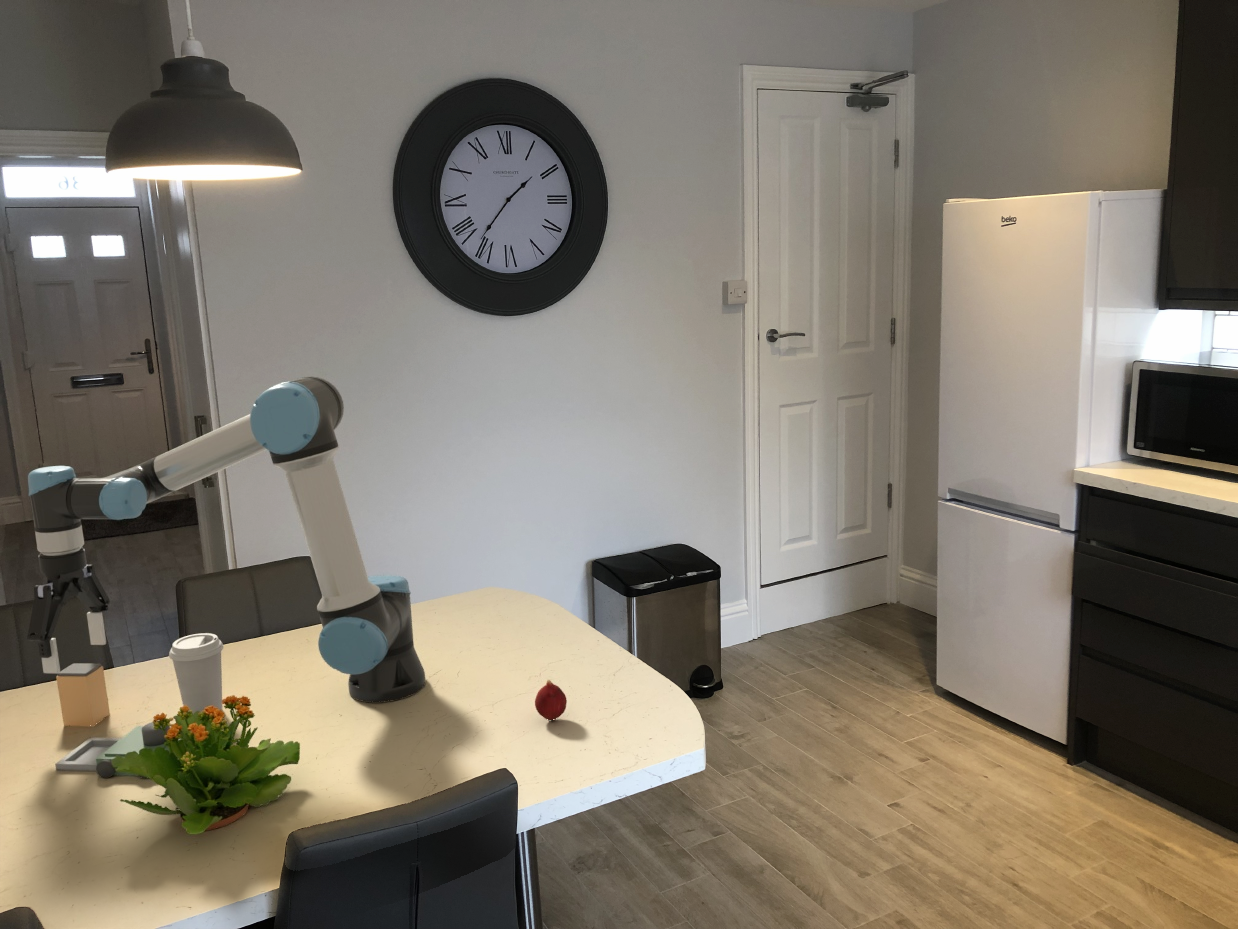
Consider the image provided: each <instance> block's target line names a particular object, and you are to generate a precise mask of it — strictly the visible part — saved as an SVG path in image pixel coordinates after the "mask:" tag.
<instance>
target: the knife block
mask: <svg viewBox="0 0 1238 929" xmlns="http://www.w3.org/2000/svg"><path fill="white" fill-rule="evenodd" d="M55 678H56V684H57V690H58V696H59V702H60V708H61V709H60V710H61V714H62V715H61V716H62V723H63V727H95V726H97V724H96V723H98V722H99V721H100V722H102V721H103V720H104V719H105V718H104V717H106V716H107V715H108V716H109V714H110V715H111V713H110V705H109V699H108V692H107V686H106V684H107V683H106V678H105V673H104V666H103V665H102V664H101V663H87V662H85V663H81V662H80V663H77V662H76V663H75V662H74V663H72V664H70V665H68V666H67V667H65V668H64V669H62V670H60V672H59V673H57V675H56V677H55ZM108 716H107V717H108ZM107 717H106V718H107ZM103 718H104V719H103ZM102 719H103V720H102ZM101 720H102V721H101ZM100 722H99V723H100ZM99 723H98V724H99ZM69 725H70V726H69ZM90 725H91V726H90ZM94 725H95V726H94Z"/></svg>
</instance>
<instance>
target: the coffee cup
mask: <svg viewBox="0 0 1238 929" xmlns="http://www.w3.org/2000/svg"><path fill="white" fill-rule="evenodd" d="M171 645H172V647H171V648H170V650H169V652H168V653H169V654H168V658H170V659H171V660H172V664H173V668H174V672H175V676H176V679H177V680H176V681H177V684H178V688H179V693H180V698H181V701H182V707H184V705H187V706H188V707H189V708H190V709H189V711H190V710H192V713H193V714H194V712H196V711H200V712H202V711H203V710H205V709H204V708H206V707H208V706H214V707H215V708H216V707H218V709H219V710H222V711H223V704H222V700H223V680H222V679H223V678H222V677H223V676H222V675H223V674H222V672H223V671H222V651H223V649H224V644H223V642H222V641H221V639H219V637H218V635H216V634H214V633H211V632H210V633H209V632H205V633H201V632H200V633H195V634H190V635H187V636H186V635H185V636H183V637H180V638H178V639H176V640H175V641H174V642H172V644H171ZM189 711H188V712H189Z"/></svg>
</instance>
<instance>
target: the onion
mask: <svg viewBox="0 0 1238 929" xmlns="http://www.w3.org/2000/svg"><path fill="white" fill-rule="evenodd" d="M567 702H568V701H567V695H566V694H565V693H564V691H563V690H562V689H561V688H560V686H558V685H557V684H554V683H553V682H552V681H551V679H547V680H546V684H545V685H544V686H542V687H541V688H540V689H539V690H538V692H537V693H536V696H535V699H534V706H535V710H536V711H537V713H538V715H540V716H541V717H542V718H544V720H545V719H546V720H547V719H548V720H547V721H549V720H553V719H555V720H556V718H557V719H559V718H560V717H561V716H562V715H563V714H564V713H565V711H566V709H567Z"/></svg>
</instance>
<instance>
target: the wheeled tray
mask: <svg viewBox="0 0 1238 929" xmlns="http://www.w3.org/2000/svg"><path fill="white" fill-rule="evenodd" d="M153 727H154V724H153V721H151V722H149V723H146V724H145V725H136V726H134V728H132V730H130V731H129V732H127V733H126V734H125V735H124V736H122V737H89V738H88V739H86V740H85V741H83V743H81V744H80V745H79V746H77V747H75V748H74V749H73V750H72V751H71V752H69V753H68V754H66V755H65V756H64V757H63V758H61V759H59V760H58V761H57V762H55V770H56V771H68V772H69V771H70V772H71V771H72V772H74V771H77V772H83V771H84V772H96V773H97V775H98V776H99V777H101V778H103V779H108V778H110V777H113V776H129V777H131V776H133V777H134V776H137V777H139V778H140V779H142V780H143V779H144V780H147V779H149V778H147V777H144V776H141V775H138V774H133V773H126V772H117V771H116V770H117V767H116V768H113V766H112V763H111V760H112V759H113V758H115V756H116V755H118V756H121V757H123V758H124V757H125V754H127V753H128V752H133V751H136V752H137V753H138V754H139V750H140V749H143V748H147V749H149V748H151V749H152V751H153V752H154V750H155V748H156V747H162V748H165V750H168V751H170V750H169V748H168V747H167V746H164V745H165V744H164V743H165V742H167V739H166V738H164V736H165V734H164V732H163V730H161V729H158V730H154V728H153ZM170 727H171V726H167V727H166V728H165V729H164V730H165V732H166V734H167V731H168V730H169V729H170ZM161 728H162V726H161ZM178 740H180V739H178ZM177 759H178V758H177ZM115 769H116V770H115Z"/></svg>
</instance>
